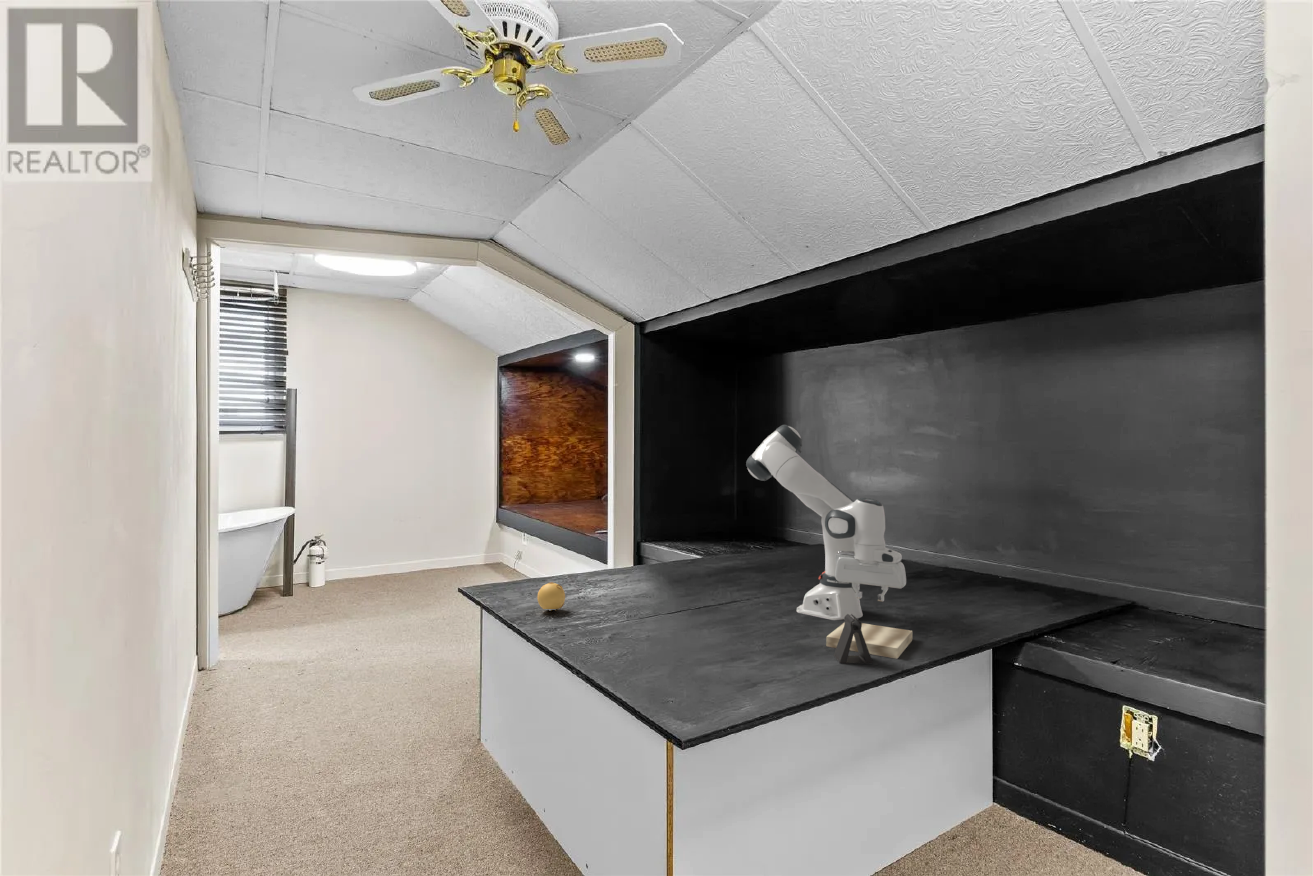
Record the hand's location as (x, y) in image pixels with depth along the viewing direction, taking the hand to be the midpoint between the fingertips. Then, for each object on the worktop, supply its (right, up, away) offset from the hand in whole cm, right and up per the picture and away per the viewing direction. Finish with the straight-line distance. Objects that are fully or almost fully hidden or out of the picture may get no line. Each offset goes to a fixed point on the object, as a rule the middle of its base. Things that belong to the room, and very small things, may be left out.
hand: (869, 599), depth 193 cm
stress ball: (-101, -14, +37) cm, 109 cm away
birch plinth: (0, -13, 0) cm, 13 cm away
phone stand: (-10, -13, -15) cm, 22 cm away
